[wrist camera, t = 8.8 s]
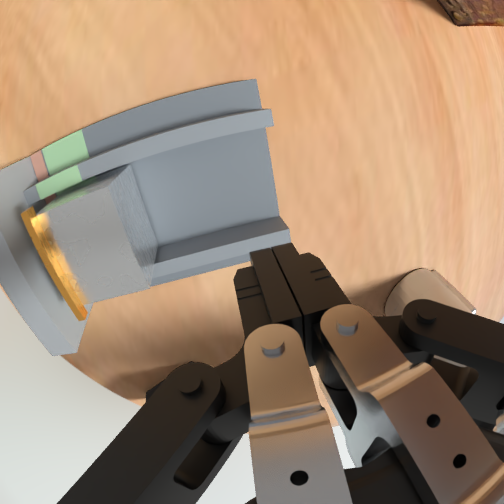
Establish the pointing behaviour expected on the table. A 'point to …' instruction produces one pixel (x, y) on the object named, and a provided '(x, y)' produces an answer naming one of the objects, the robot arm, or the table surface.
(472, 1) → the book
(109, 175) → the plunger
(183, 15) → the table surface
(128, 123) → the base
